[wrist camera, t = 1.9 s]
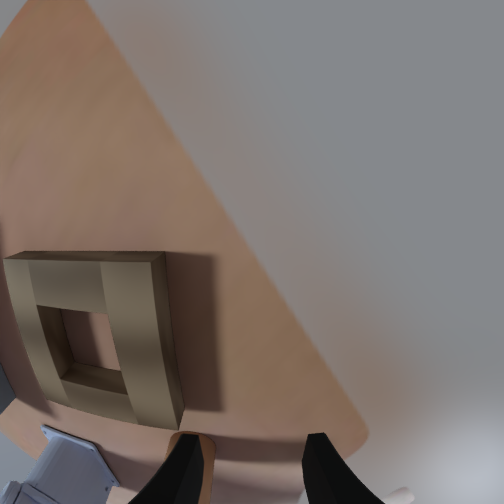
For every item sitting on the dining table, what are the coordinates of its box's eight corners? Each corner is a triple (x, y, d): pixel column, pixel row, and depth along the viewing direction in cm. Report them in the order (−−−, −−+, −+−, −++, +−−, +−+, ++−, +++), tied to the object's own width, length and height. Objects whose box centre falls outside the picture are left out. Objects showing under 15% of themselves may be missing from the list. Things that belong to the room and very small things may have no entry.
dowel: (217, 458, 20) (210, 530, 12) (174, 454, 20) (158, 522, 12) (213, 433, 19) (203, 513, 11) (166, 428, 19) (143, 504, 11)
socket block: (184, 407, 18) (178, 430, 16) (59, 383, 18) (46, 399, 16) (164, 251, 16) (150, 262, 13) (24, 251, 15) (2, 258, 13)
